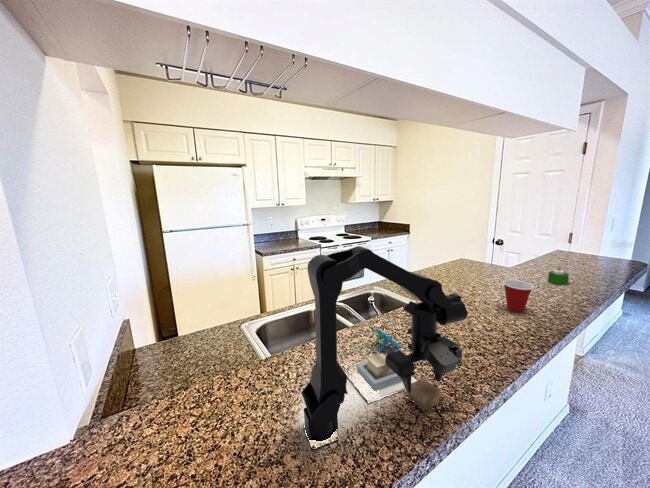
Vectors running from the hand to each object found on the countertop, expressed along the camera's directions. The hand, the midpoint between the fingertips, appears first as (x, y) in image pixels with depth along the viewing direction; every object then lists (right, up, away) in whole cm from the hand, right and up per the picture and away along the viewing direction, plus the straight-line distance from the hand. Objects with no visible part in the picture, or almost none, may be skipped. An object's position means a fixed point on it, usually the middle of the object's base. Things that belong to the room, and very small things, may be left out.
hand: (423, 386), depth 68 cm
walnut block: (0, -4, +1) cm, 4 cm away
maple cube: (-9, -2, +10) cm, 13 cm away
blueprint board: (-9, -3, +10) cm, 14 cm away
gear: (-3, 0, +25) cm, 25 cm away
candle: (+101, +14, +79) cm, 129 cm away
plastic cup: (+58, +7, +49) cm, 76 cm away
